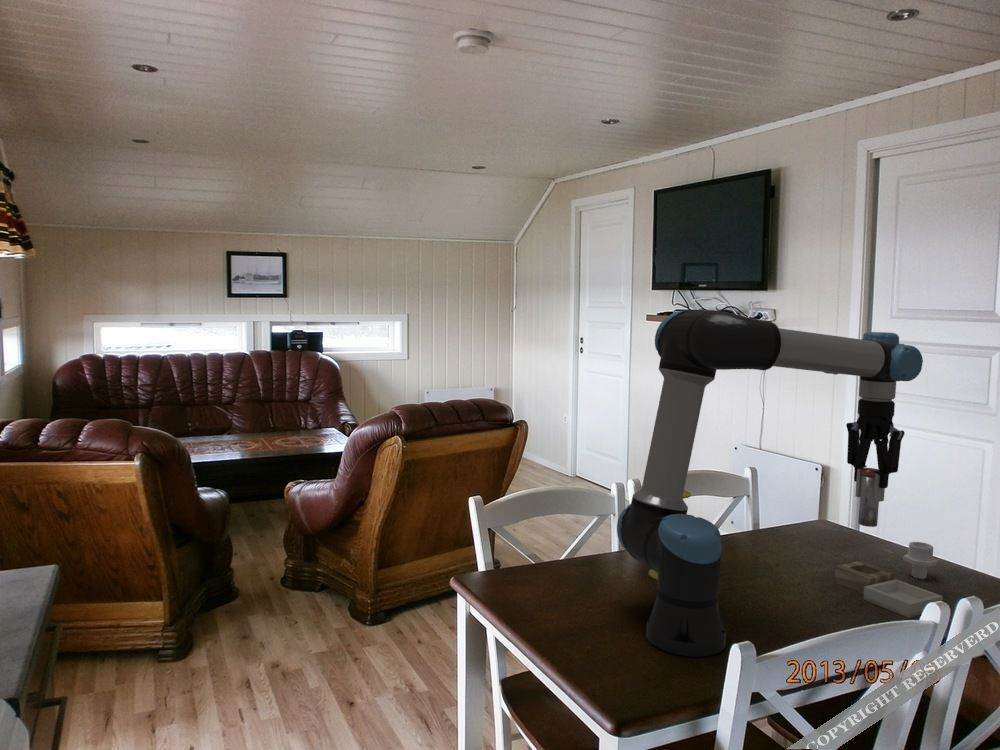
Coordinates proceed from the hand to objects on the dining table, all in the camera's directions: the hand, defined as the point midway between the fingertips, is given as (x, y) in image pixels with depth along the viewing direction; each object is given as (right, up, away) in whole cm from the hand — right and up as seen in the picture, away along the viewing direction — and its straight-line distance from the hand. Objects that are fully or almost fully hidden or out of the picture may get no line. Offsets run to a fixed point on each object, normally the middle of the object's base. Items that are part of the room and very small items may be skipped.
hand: (869, 498), depth 174 cm
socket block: (0, -21, +2) cm, 21 cm away
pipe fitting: (+16, -21, +9) cm, 28 cm away
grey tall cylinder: (0, -6, +1) cm, 6 cm away
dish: (+3, -22, -9) cm, 24 cm away
